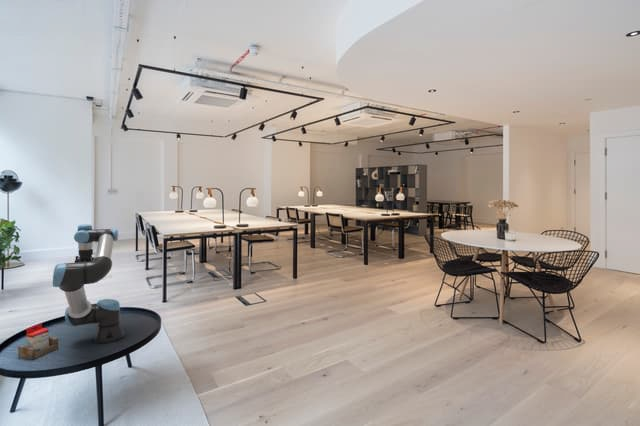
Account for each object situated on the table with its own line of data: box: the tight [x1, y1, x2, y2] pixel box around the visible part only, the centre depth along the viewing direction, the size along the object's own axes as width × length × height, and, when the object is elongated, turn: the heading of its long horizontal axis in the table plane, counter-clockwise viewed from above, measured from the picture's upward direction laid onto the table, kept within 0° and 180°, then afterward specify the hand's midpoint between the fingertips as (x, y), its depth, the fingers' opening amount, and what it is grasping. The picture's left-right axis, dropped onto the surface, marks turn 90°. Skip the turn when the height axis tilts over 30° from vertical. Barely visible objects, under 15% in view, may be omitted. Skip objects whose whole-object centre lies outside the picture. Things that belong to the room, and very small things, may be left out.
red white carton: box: [26, 323, 50, 353], centre depth 186 cm, size 8×5×15 cm, turn 166°
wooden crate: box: [17, 336, 59, 361], centre depth 187 cm, size 10×13×6 cm
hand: (86, 281), depth 215 cm, fingers open, 13 cm apart
